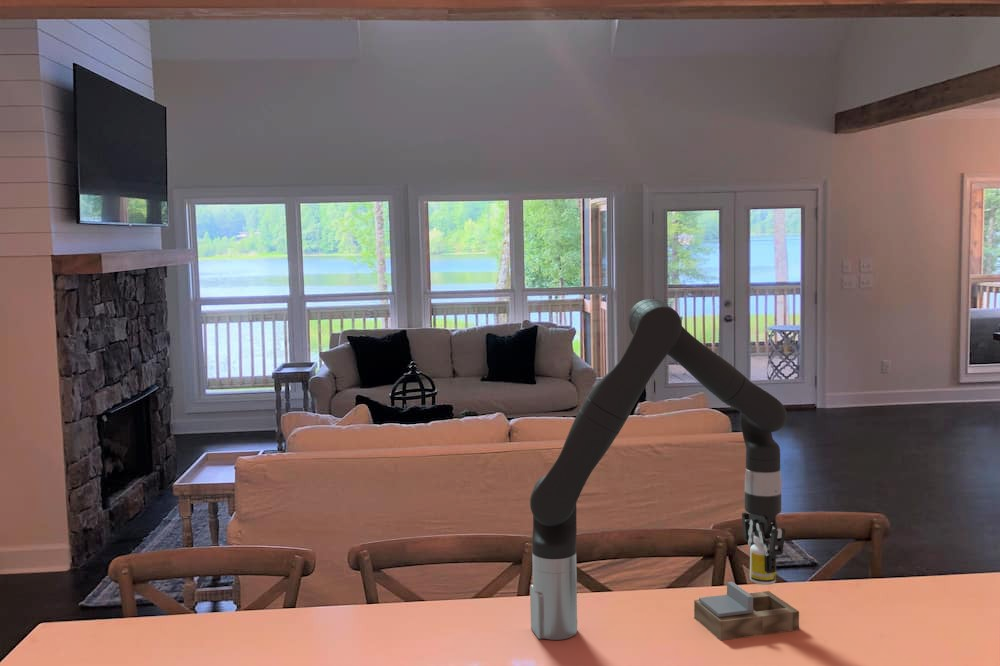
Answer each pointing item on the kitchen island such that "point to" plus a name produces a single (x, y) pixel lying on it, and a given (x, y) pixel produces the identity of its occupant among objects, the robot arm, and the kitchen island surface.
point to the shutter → (730, 602)
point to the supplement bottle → (759, 564)
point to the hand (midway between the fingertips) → (762, 567)
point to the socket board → (751, 618)
